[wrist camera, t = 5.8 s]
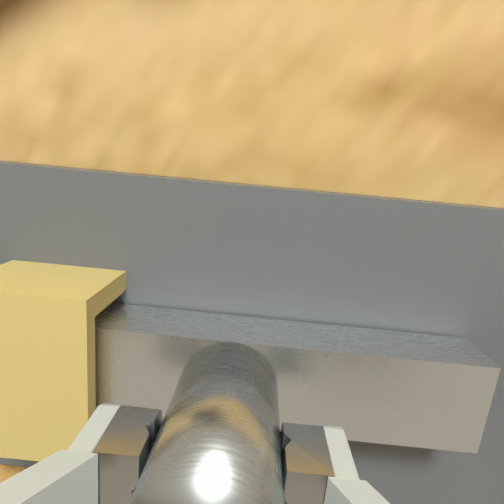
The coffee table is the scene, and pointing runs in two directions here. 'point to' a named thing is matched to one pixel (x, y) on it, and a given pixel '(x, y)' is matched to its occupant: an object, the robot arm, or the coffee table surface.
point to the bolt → (278, 394)
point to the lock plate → (238, 293)
